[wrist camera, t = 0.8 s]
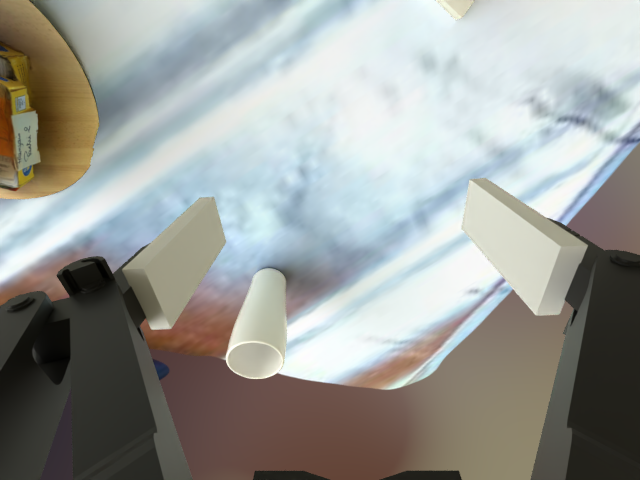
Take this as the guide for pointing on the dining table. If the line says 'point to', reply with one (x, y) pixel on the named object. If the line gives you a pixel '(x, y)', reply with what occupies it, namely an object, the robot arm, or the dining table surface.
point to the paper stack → (41, 107)
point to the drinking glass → (260, 328)
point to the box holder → (456, 7)
